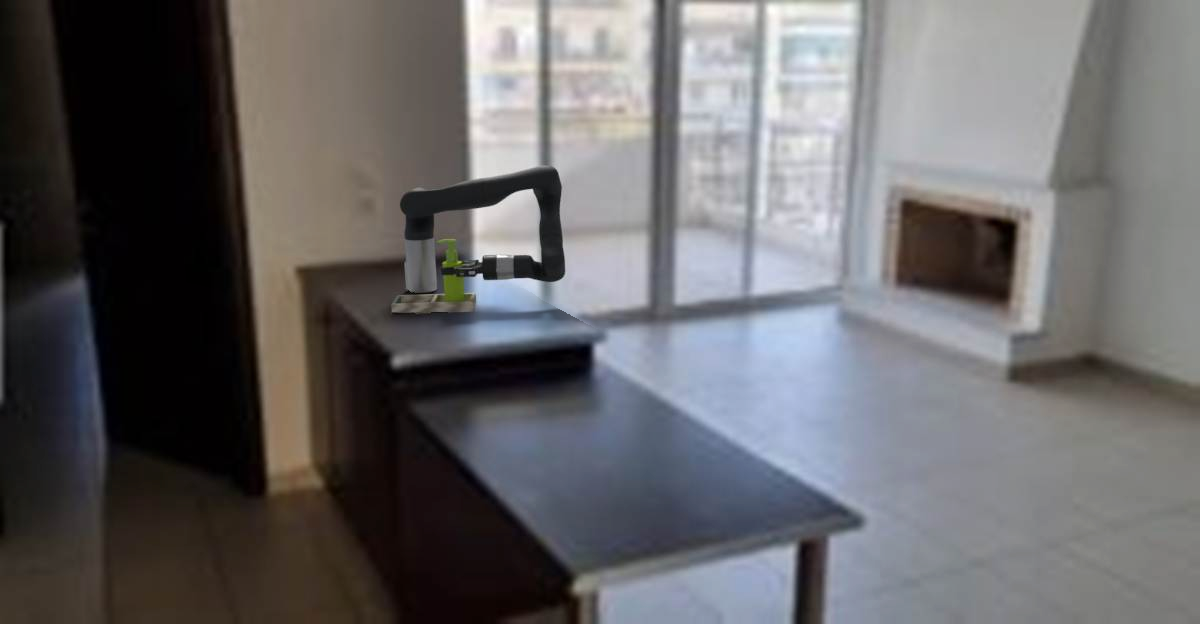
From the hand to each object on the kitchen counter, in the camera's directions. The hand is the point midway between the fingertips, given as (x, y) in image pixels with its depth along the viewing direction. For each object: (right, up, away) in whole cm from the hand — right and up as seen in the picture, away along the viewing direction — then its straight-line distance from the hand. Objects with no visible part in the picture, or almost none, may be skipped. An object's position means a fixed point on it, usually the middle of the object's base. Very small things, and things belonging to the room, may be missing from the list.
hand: (442, 269), depth 313 cm
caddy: (-3, -12, +3) cm, 12 cm away
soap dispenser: (+3, -11, +3) cm, 11 cm away
